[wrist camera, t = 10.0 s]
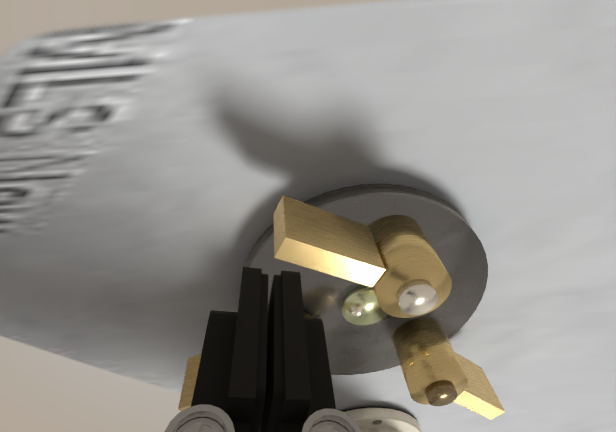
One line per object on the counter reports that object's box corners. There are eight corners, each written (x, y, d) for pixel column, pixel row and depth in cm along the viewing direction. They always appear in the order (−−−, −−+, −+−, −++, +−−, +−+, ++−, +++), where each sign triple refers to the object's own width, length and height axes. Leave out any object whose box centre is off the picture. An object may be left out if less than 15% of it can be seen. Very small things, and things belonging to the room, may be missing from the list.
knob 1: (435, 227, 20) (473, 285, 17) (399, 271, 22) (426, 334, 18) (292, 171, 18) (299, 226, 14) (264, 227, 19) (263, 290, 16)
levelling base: (521, 267, 25) (543, 293, 23) (359, 379, 31) (365, 408, 29) (362, 128, 19) (373, 148, 16) (195, 305, 25) (188, 336, 23)
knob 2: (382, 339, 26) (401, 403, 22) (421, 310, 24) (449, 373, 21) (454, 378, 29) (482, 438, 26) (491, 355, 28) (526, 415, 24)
